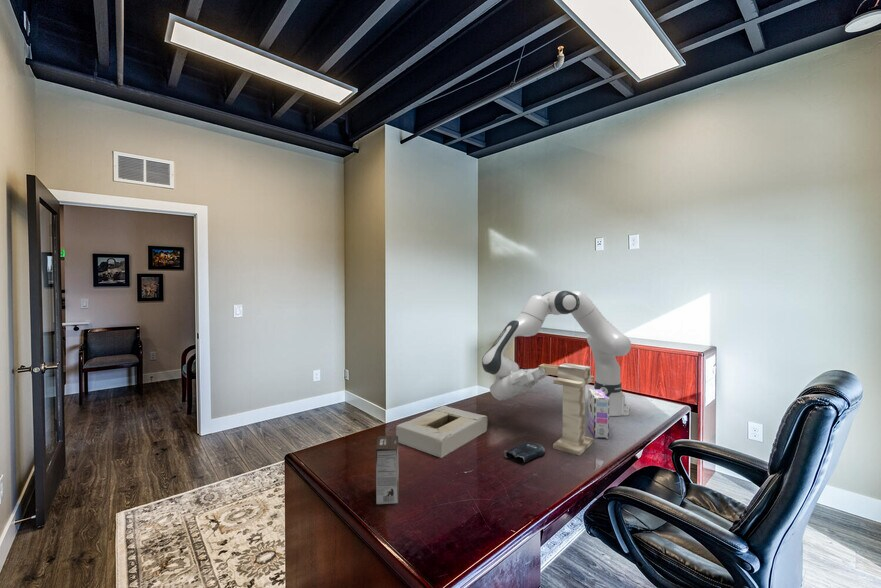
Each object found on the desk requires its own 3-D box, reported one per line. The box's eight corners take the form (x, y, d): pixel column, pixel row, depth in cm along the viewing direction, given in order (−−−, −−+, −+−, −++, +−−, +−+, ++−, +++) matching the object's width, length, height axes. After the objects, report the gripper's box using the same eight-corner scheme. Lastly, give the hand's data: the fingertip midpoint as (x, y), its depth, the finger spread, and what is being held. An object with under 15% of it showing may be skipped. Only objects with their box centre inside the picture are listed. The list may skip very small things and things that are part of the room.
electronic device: (526, 471, 131) (550, 452, 141) (523, 455, 131) (547, 437, 141) (505, 465, 138) (529, 447, 148) (502, 450, 138) (526, 433, 148)
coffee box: (378, 487, 118) (377, 435, 117) (399, 486, 118) (398, 434, 118) (375, 504, 109) (374, 448, 108) (398, 503, 109) (398, 447, 109)
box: (442, 460, 137) (488, 431, 162) (441, 439, 137) (487, 413, 162) (395, 445, 151) (444, 420, 176) (394, 425, 151) (443, 403, 176)
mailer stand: (568, 435, 156) (569, 361, 155) (593, 442, 150) (594, 364, 149) (553, 448, 145) (553, 367, 144) (579, 455, 139) (580, 371, 138)
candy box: (609, 439, 153) (609, 398, 152) (593, 438, 154) (594, 397, 153) (602, 426, 166) (602, 388, 166) (587, 425, 167) (588, 388, 167)
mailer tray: (542, 370, 157) (542, 363, 157) (588, 377, 145) (588, 370, 145) (537, 372, 154) (537, 365, 154) (584, 380, 142) (584, 372, 142)
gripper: (506, 378, 154) (534, 365, 146) (530, 369, 169) (556, 356, 162) (513, 393, 152) (542, 380, 144) (537, 382, 168) (563, 370, 160)
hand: (549, 368), depth 153 cm, fingers open, 8 cm apart
